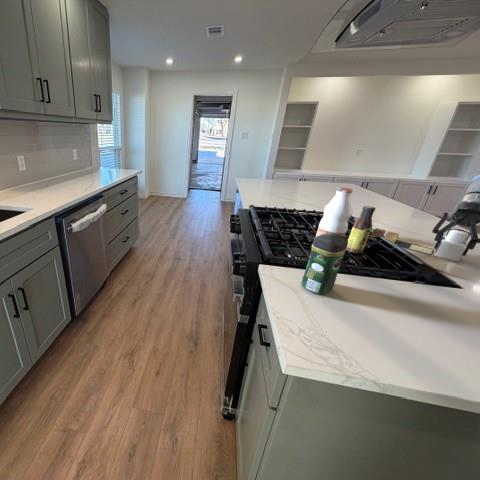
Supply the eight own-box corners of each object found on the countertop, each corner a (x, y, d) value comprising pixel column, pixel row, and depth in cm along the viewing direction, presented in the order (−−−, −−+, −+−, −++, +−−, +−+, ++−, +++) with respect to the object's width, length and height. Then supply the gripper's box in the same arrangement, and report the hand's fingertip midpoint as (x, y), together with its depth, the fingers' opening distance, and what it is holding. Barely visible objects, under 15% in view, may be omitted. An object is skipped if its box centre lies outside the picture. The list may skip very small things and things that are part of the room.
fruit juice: (306, 254, 106) (325, 187, 95) (317, 248, 111) (336, 185, 100) (330, 263, 99) (354, 192, 88) (341, 257, 104) (364, 189, 93)
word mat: (433, 249, 113) (433, 248, 113) (429, 255, 107) (430, 254, 107) (373, 234, 129) (373, 233, 129) (367, 239, 123) (367, 238, 123)
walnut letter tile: (382, 238, 124) (386, 230, 122) (380, 240, 121) (383, 232, 120) (373, 235, 127) (375, 228, 125) (370, 237, 124) (373, 229, 123)
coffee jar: (312, 277, 88) (327, 228, 81) (336, 289, 82) (355, 236, 75) (295, 285, 84) (310, 233, 76) (319, 298, 78) (338, 243, 70)
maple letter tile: (396, 241, 120) (399, 233, 119) (394, 243, 118) (397, 235, 116) (385, 238, 123) (388, 231, 122) (383, 240, 121) (386, 232, 119)
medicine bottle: (434, 251, 112) (447, 226, 107) (458, 257, 107) (473, 230, 102) (433, 256, 107) (447, 229, 103) (458, 262, 103) (473, 235, 98)
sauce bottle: (361, 255, 106) (378, 210, 98) (343, 251, 110) (359, 206, 102) (363, 250, 110) (380, 206, 102) (346, 246, 114) (361, 203, 106)
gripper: (440, 196, 111) (417, 238, 108) (515, 207, 97) (491, 256, 94) (436, 206, 116) (414, 246, 113) (507, 217, 102) (484, 264, 99)
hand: (449, 250), depth 104 cm, fingers closed on medicine bottle, 7 cm apart
